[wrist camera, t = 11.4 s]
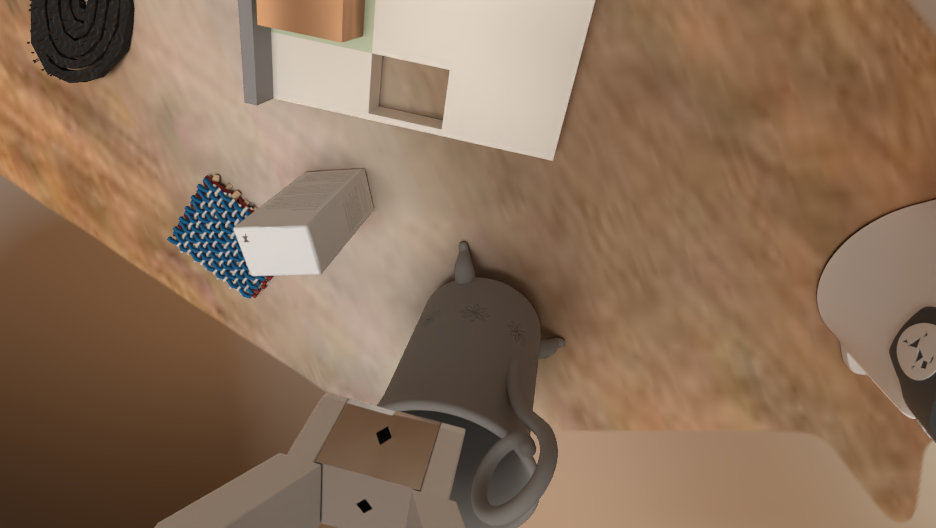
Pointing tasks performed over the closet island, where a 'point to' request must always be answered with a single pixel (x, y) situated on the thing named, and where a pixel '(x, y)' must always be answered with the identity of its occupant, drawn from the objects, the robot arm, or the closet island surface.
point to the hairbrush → (80, 36)
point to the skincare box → (305, 223)
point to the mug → (481, 393)
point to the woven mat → (208, 240)
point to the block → (314, 17)
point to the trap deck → (440, 45)
